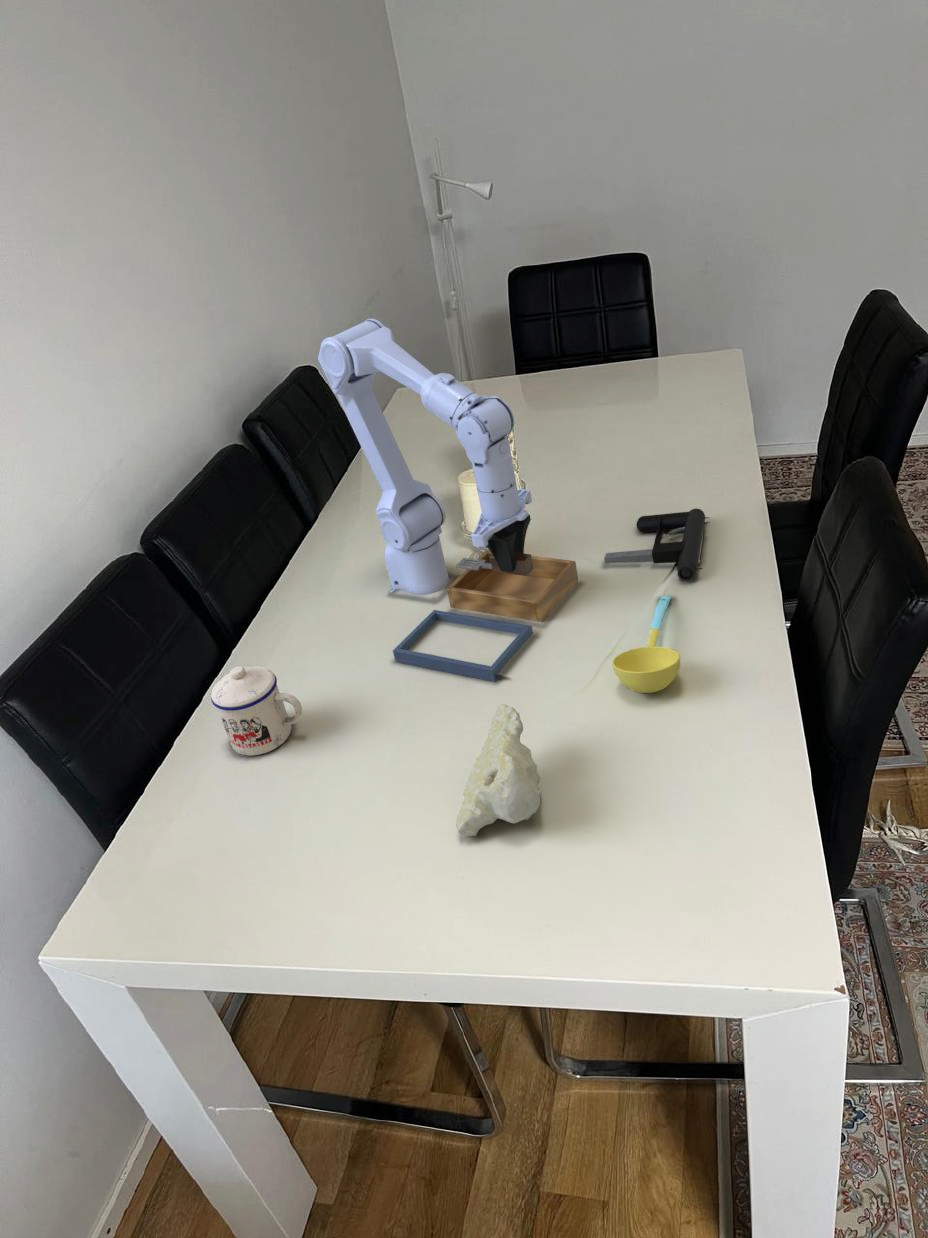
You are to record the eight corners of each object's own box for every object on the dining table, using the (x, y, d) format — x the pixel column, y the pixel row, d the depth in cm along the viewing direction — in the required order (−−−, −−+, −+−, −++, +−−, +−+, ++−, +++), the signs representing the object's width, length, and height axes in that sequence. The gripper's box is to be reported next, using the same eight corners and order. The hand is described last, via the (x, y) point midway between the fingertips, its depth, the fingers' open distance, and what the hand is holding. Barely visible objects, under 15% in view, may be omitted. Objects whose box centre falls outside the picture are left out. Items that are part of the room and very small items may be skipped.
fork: (534, 568, 147) (531, 553, 146) (526, 576, 146) (523, 561, 144) (463, 559, 154) (460, 545, 153) (455, 567, 152) (452, 553, 151)
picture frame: (395, 661, 147) (392, 650, 146) (436, 620, 155) (433, 609, 154) (495, 682, 138) (492, 670, 137) (533, 637, 146) (531, 625, 145)
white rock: (517, 875, 110) (588, 761, 109) (464, 848, 107) (535, 731, 107) (483, 824, 124) (545, 723, 124) (435, 799, 122) (497, 696, 122)
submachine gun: (597, 572, 153) (702, 564, 148) (616, 513, 169) (711, 503, 164) (601, 590, 155) (704, 583, 149) (619, 530, 171) (713, 521, 165)
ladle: (610, 705, 127) (605, 664, 126) (641, 631, 151) (637, 595, 149) (679, 704, 124) (674, 662, 122) (699, 628, 148) (696, 592, 146)
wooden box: (451, 611, 157) (446, 589, 154) (490, 572, 165) (486, 550, 163) (542, 626, 148) (538, 602, 146) (579, 584, 156) (575, 560, 154)
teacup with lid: (220, 758, 135) (192, 691, 129) (246, 716, 143) (220, 651, 137) (299, 758, 132) (274, 689, 126) (321, 715, 139) (299, 648, 133)
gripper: (495, 509, 134) (512, 594, 141) (543, 463, 143) (556, 545, 150) (452, 505, 137) (470, 588, 144) (502, 461, 147) (516, 540, 154)
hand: (511, 565), depth 148 cm, fingers closed on fork, 2 cm apart
